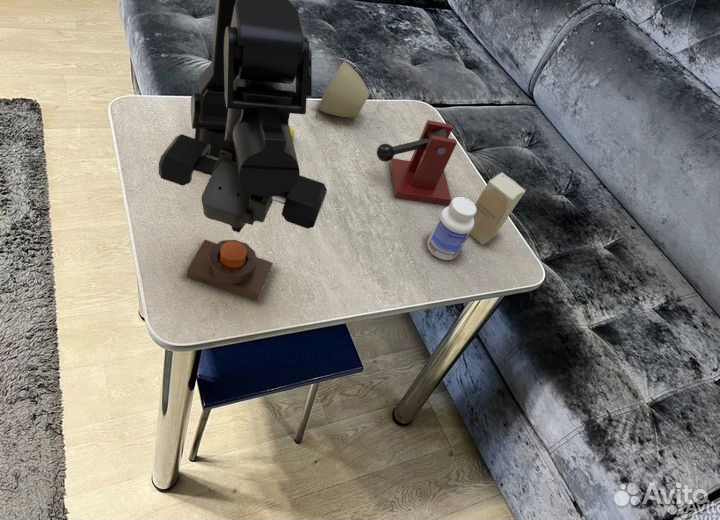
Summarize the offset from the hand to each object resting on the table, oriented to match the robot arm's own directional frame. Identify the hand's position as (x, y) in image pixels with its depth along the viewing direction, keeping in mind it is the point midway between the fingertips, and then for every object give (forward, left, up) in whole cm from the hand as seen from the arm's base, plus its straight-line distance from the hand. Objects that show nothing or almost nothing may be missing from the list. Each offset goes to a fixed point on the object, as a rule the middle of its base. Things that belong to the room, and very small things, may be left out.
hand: (237, 229), depth 75 cm
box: (+35, +26, -9) cm, 45 cm away
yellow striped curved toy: (-4, +29, -9) cm, 31 cm away
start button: (0, 0, -6) cm, 6 cm away
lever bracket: (+23, +33, -9) cm, 41 cm away
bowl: (+9, +45, -5) cm, 47 cm away
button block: (0, 0, -9) cm, 9 cm away
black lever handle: (+20, +32, -2) cm, 38 cm away
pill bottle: (+29, +19, -9) cm, 36 cm away
